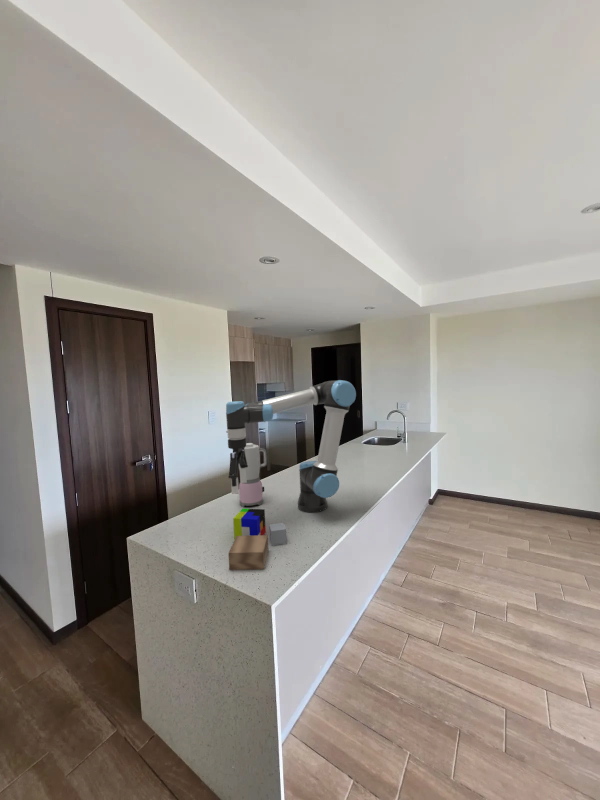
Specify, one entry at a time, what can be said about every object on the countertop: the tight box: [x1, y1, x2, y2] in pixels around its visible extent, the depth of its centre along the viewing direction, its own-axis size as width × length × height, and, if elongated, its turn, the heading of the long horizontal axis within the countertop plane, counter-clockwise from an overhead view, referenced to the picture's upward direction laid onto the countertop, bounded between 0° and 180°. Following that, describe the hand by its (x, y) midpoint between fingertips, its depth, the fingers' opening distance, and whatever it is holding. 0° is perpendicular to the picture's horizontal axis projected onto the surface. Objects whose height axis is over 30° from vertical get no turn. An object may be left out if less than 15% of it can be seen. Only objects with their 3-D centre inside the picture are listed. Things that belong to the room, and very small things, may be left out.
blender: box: [238, 442, 268, 508], centre depth 169 cm, size 16×12×32 cm
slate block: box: [268, 522, 288, 547], centre depth 129 cm, size 6×6×6 cm
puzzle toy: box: [232, 507, 267, 541], centre depth 133 cm, size 10×10×10 cm
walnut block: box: [228, 534, 269, 571], centre depth 116 cm, size 12×12×6 cm
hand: (239, 487), depth 135 cm, fingers open, 13 cm apart
